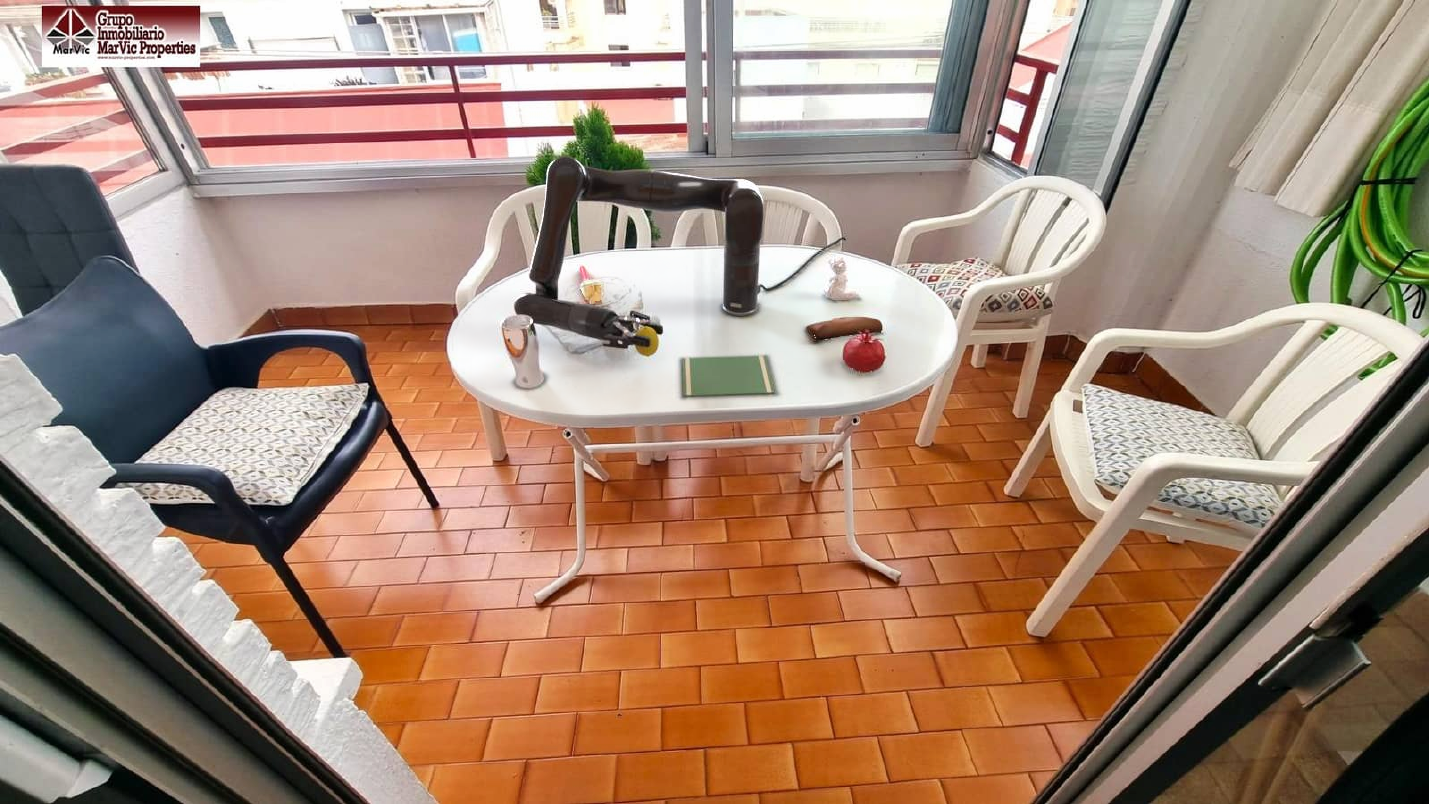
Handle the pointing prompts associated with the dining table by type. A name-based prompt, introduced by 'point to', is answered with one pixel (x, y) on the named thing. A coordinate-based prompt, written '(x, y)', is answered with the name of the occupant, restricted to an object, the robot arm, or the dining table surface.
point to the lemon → (654, 341)
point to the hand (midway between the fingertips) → (655, 336)
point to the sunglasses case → (843, 327)
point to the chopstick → (583, 272)
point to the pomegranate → (864, 353)
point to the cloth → (726, 376)
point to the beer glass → (522, 349)
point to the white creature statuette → (838, 281)
